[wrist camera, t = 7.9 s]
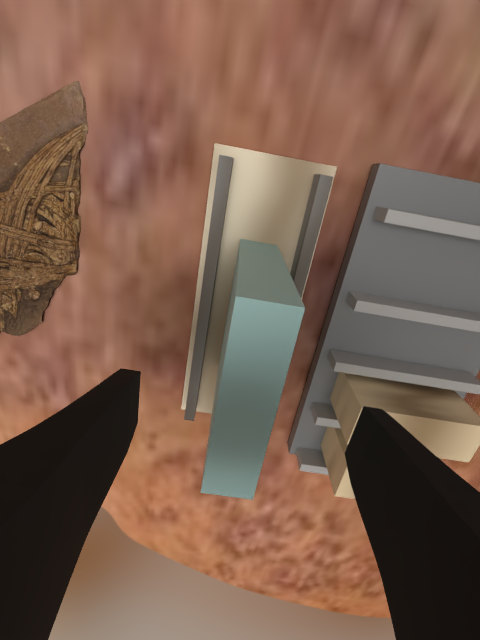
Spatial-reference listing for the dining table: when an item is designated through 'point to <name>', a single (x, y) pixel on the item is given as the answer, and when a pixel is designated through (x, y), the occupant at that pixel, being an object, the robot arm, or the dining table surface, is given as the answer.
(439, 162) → the dining table surface
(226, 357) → the teal rectangular block
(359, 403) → the block
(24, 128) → the wooden fragment
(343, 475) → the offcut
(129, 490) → the dining table surface
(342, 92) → the dining table surface
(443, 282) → the rack
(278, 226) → the holder
